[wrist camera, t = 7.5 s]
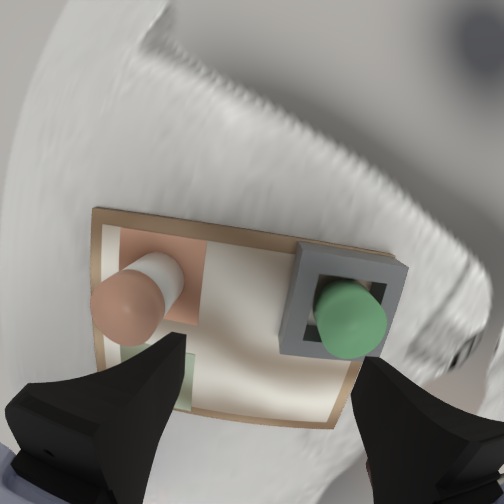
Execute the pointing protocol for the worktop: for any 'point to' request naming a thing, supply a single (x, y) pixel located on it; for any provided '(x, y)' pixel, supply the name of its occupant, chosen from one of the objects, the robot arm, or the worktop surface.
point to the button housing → (343, 265)
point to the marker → (137, 298)
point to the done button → (348, 319)
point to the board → (227, 319)
